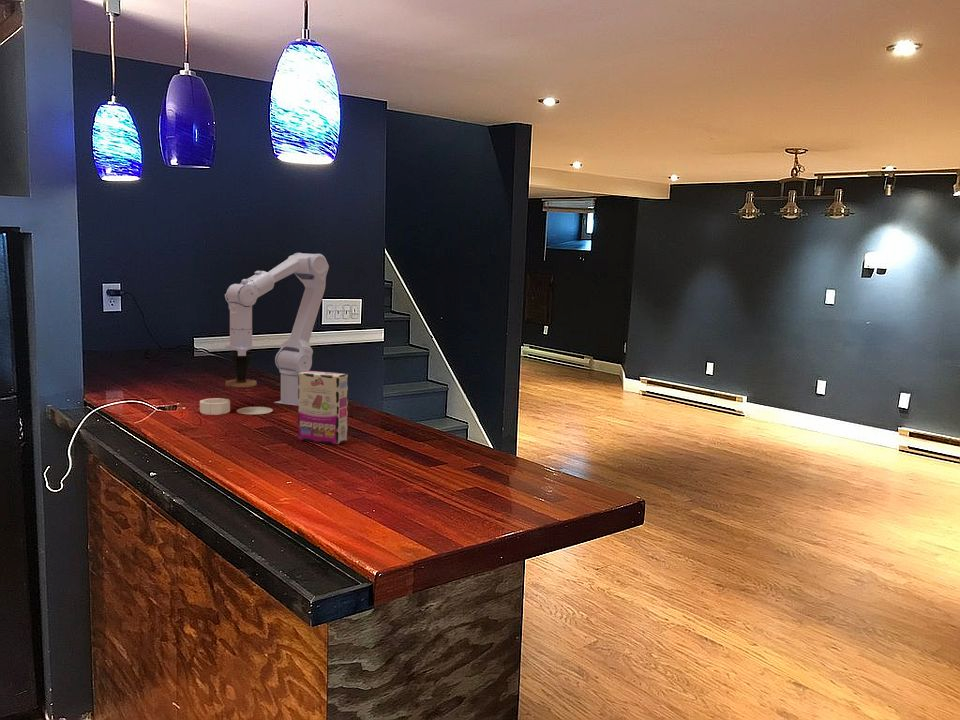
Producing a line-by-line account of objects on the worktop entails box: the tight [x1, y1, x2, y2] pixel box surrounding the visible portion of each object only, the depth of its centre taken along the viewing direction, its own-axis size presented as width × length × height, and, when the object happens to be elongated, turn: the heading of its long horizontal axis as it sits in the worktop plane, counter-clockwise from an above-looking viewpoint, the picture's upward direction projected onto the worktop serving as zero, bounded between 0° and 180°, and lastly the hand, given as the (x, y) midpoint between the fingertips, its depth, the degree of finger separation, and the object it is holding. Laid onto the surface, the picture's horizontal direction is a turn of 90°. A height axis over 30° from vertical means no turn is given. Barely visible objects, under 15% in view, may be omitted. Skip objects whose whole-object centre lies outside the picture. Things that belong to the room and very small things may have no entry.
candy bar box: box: [297, 370, 349, 445], centre depth 186 cm, size 11×5×16 cm, turn 70°
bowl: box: [199, 397, 231, 416], centre depth 210 cm, size 8×8×4 cm
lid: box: [225, 376, 257, 388], centre depth 211 cm, size 8×8×5 cm
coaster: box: [236, 406, 274, 415], centre depth 213 cm, size 10×10×1 cm
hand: (241, 378), depth 211 cm, fingers closed on lid, 3 cm apart
